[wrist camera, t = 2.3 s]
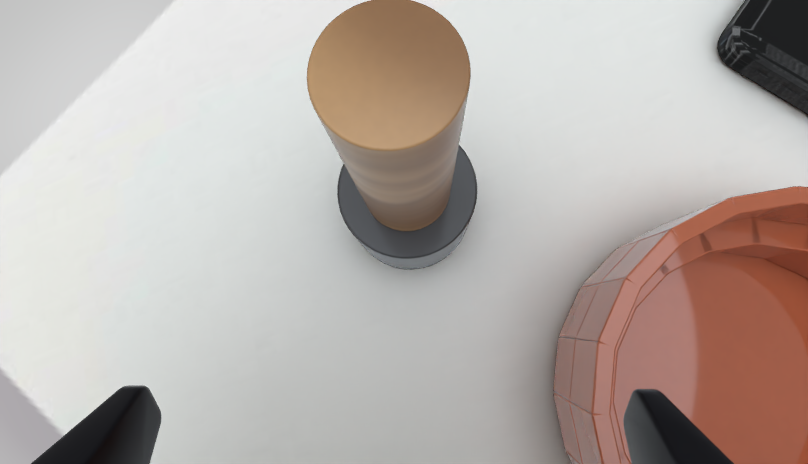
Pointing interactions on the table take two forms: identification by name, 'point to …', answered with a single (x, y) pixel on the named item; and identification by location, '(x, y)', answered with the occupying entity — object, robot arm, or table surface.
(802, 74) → the phone
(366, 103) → the wooden peg on base
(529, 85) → the table surface
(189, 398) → the table surface
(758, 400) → the bowl
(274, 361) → the table surface
